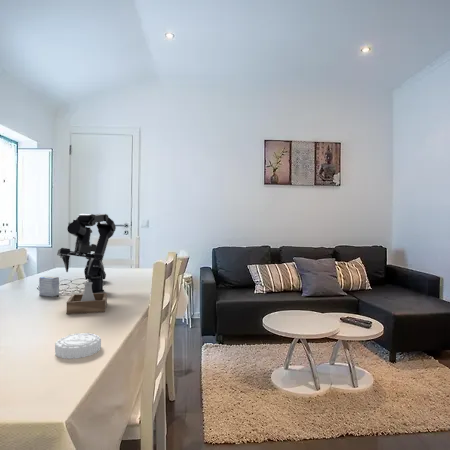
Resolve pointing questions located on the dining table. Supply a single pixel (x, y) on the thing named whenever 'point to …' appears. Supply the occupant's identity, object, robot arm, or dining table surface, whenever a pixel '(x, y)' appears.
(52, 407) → the dining table surface
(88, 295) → the flask
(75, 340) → the mooncake
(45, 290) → the medicine box
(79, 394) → the dining table surface
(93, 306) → the walled box
